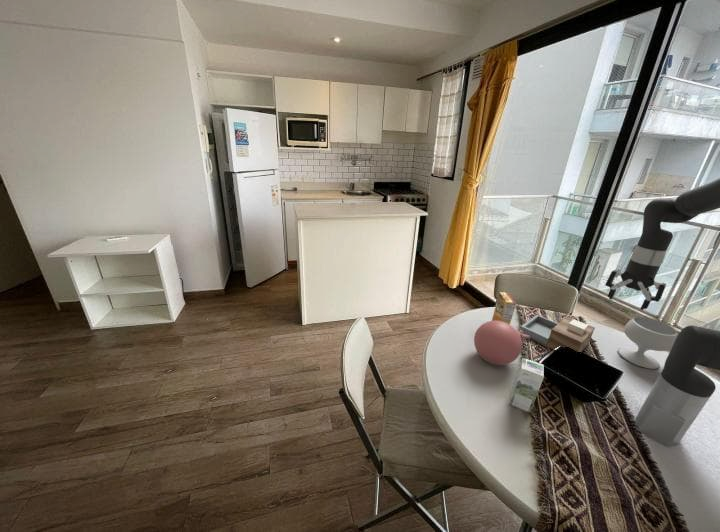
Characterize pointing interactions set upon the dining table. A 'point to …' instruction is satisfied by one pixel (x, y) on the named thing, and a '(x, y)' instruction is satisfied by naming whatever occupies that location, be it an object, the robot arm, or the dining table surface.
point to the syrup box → (526, 384)
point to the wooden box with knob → (569, 336)
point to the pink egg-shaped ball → (499, 342)
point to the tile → (577, 327)
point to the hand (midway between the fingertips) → (626, 303)
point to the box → (538, 329)
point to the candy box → (504, 308)
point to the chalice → (647, 340)
